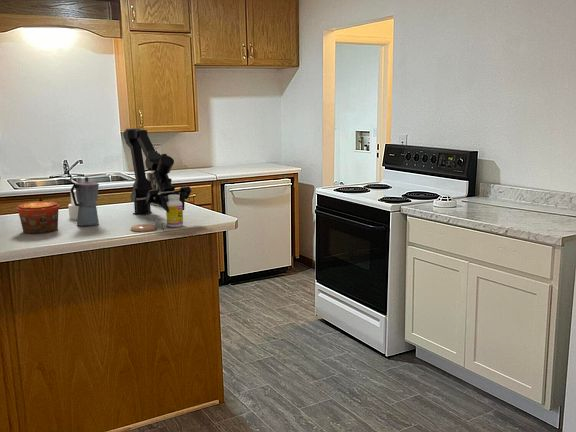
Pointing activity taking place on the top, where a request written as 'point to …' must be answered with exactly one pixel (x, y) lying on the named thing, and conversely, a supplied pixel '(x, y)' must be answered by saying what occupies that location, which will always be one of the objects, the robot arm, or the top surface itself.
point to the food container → (39, 217)
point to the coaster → (143, 227)
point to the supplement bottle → (174, 211)
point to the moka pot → (86, 202)
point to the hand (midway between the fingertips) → (176, 210)
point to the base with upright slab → (73, 207)
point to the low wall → (159, 224)
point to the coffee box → (152, 183)
